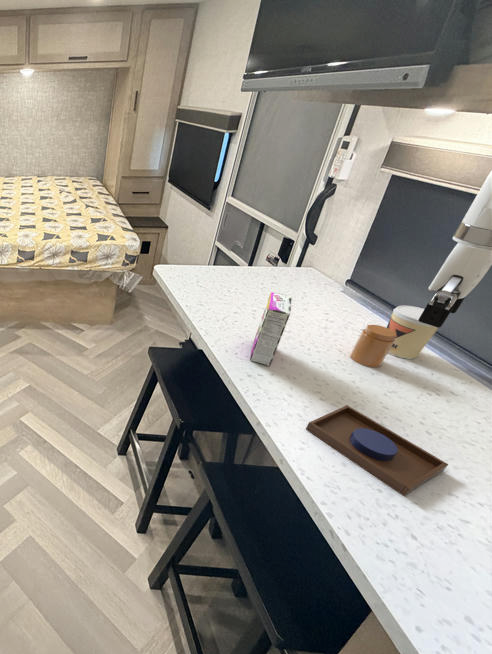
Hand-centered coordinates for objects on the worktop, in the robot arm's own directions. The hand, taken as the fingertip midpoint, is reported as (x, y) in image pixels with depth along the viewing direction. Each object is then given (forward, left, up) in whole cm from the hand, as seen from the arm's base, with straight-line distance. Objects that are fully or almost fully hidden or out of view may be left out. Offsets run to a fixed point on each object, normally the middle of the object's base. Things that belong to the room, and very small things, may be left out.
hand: (436, 316), depth 79 cm
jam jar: (+12, -17, -24) cm, 32 cm away
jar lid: (-6, +16, -22) cm, 28 cm away
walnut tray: (-6, +16, -24) cm, 30 cm away
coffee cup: (+11, -30, -24) cm, 40 cm away
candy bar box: (+25, +6, -24) cm, 36 cm away
